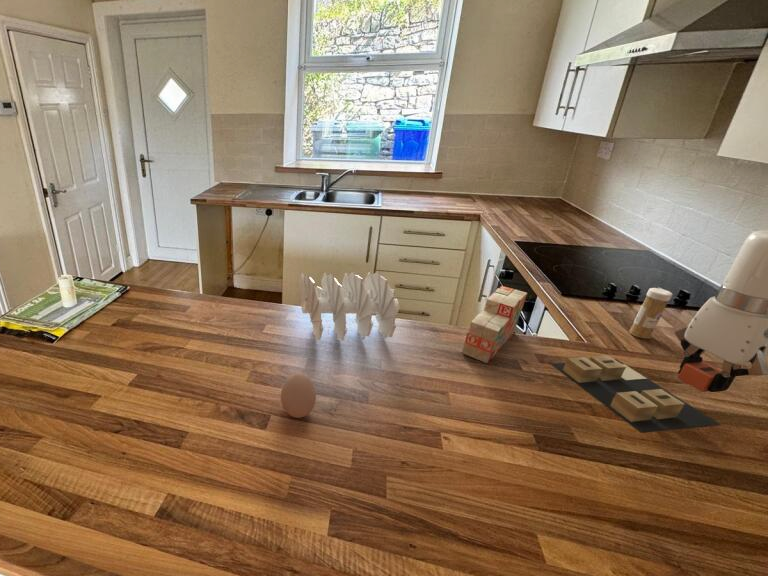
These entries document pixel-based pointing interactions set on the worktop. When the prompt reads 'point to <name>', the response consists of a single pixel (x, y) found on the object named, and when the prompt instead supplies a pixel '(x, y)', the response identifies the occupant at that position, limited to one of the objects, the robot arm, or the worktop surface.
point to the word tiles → (624, 402)
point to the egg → (298, 395)
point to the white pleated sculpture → (350, 303)
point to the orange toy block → (698, 375)
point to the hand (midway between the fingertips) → (700, 381)
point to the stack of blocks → (494, 324)
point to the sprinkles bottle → (650, 312)
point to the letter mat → (639, 383)
